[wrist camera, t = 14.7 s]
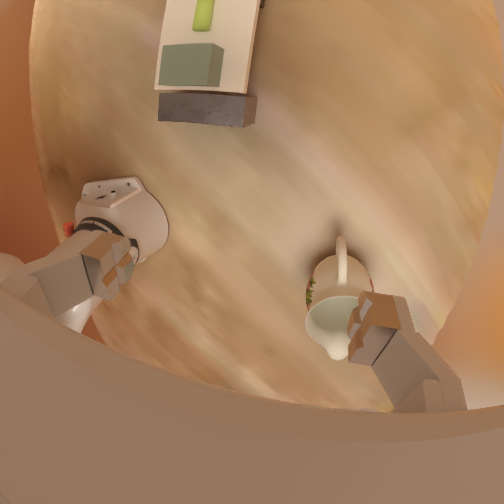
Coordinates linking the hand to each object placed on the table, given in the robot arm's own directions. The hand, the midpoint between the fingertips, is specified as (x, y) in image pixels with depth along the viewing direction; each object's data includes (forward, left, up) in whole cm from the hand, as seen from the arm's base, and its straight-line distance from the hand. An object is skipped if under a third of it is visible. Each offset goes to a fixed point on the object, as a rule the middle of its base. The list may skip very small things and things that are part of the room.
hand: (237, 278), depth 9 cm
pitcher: (+11, -20, -34) cm, 41 cm away
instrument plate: (-13, +15, -27) cm, 34 cm away
